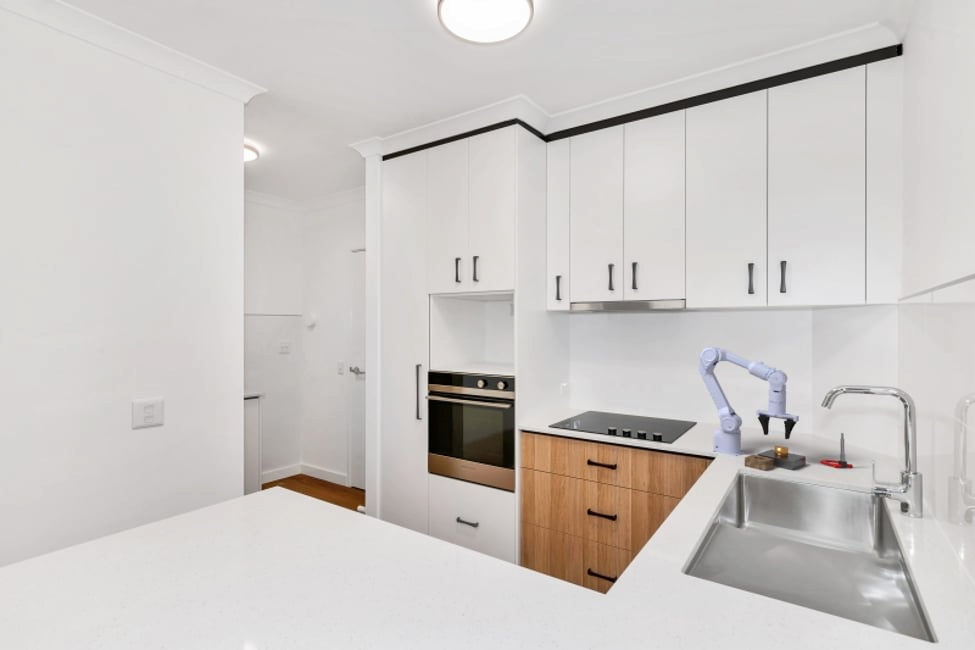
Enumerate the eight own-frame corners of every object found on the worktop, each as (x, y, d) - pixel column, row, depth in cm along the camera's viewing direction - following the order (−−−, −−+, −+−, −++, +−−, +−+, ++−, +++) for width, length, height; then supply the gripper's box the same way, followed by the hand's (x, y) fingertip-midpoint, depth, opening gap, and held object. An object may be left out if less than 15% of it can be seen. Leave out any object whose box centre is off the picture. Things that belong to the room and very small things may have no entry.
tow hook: (815, 462, 185) (833, 468, 176) (814, 429, 186) (832, 433, 177) (836, 462, 186) (855, 468, 176) (836, 429, 186) (854, 433, 177)
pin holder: (744, 466, 176) (744, 457, 176) (753, 463, 181) (753, 454, 181) (764, 471, 171) (764, 462, 171) (773, 468, 175) (773, 458, 175)
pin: (772, 463, 181) (772, 446, 181) (777, 461, 183) (777, 445, 183) (784, 466, 177) (784, 449, 177) (790, 464, 179) (790, 447, 179)
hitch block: (757, 463, 181) (757, 454, 181) (771, 458, 189) (771, 449, 189) (792, 471, 172) (792, 461, 172) (805, 465, 179) (805, 456, 179)
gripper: (752, 399, 189) (752, 434, 189) (793, 405, 177) (792, 442, 177) (761, 398, 193) (760, 432, 193) (801, 403, 181) (800, 439, 181)
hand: (776, 436), depth 185 cm, fingers open, 7 cm apart
